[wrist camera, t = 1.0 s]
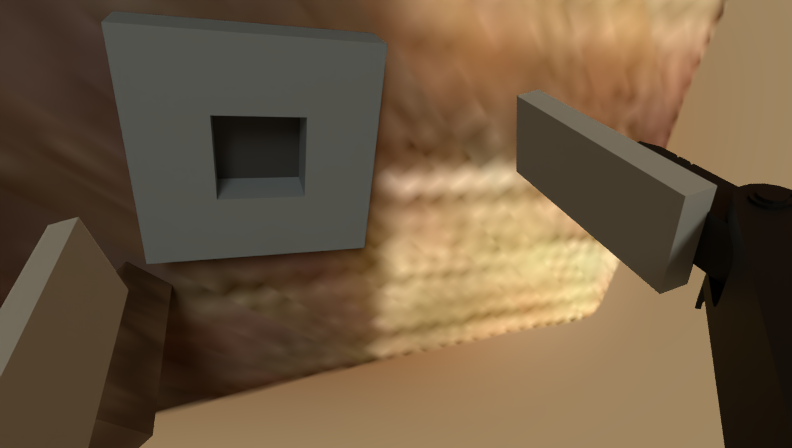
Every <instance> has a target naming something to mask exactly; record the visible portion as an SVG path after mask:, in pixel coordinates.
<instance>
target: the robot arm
mask: <svg viewBox="0 0 792 448" xmlns="http://www.w3.org/2000/svg"><path fill="white" fill-rule="evenodd" d="M517 172H518V173H519V174H520V175H522V176H523V177H524V178H525V179H526V180H527V181H529V182H530V183H531V184H532V185H533V186H534V187H536V188H537V189H538V190H539V191H540V192H541V193H543V194H544V195H545V196H546V197H547V198H548V199H550V200H551V201H552V202H553V203H554V204H555V205H557V206H558V207H559V208H560V209H561V210H562V211H564V212H565V213H566V214H567V215H568V216H569V217H571V218H572V219H573V220H574V221H575V222H576V223H578V224H579V225H580V226H581V227H582V228H583V229H585V230H586V231H587V232H588V233H589V234H590V235H592V236H593V237H594V238H595V239H596V240H597V241H599V242H600V243H601V244H602V245H603V246H604V247H606V248H607V249H608V250H609V251H610V252H611V253H613V254H614V255H615V256H616V257H617V258H618V259H620V260H621V261H622V262H623V263H624V264H625V265H627V266H628V267H629V268H630V269H631V270H632V271H634V272H635V273H636V274H637V275H639V276H640V277H641V278H642V279H643V280H644V281H645V282H647V283H648V284H649V285H650V286H651V287H652V288H654V289H655V290H656V291H657V292H658V293H659V294H661V293H664V292H667V291H669V290H672V289H674V288H677V287H680V286H683V285H685V284H687V283H688V280H689V277H690V273H691V270H692V267H693V264H695V265H696V266H697V267H699V268H700V269H701V270H703V271H704V272H706V275H705V278H704V281H703V284H702V287H701V290H700V293H699V296H698V299H697V302H696V306H695V308H696V309H701V306H702V303H703V302H704V301H705V306H706V313H707V321H708V328H709V335H710V343H711V350H712V357H713V364H714V372H715V379H716V386H717V394H718V401H719V408H720V416H721V423H722V429H723V437H724V445H725V448H792V190H790V189H787V188H784V187H781V186H777V185H769V184H748V185H744V186H740V187H737V186H735V185H734V184H732V183H730V182H728V181H726V180H724V179H722V178H720V177H718V176H716V175H714V174H712V173H711V172H709V171H707V170H705V169H703V168H701V167H699V166H697V165H695V164H692V165H691V163H690V162H689V161H687V160H685V159H683V158H681V157H677V155H676V154H674V153H672V152H670V151H668V150H666V149H664V148H662V147H660V146H656V145H652V144H648V143H645V142H641V141H639V142H635V141H633V140H631V139H630V138H628V137H626V136H624V135H622V134H620V133H618V132H616V131H615V130H613V129H611V128H609V127H607V126H605V125H603V124H602V123H600V122H598V121H596V120H594V119H592V118H590V117H589V116H587V115H585V114H583V113H581V112H579V111H577V110H576V109H574V108H572V107H570V106H568V105H566V104H564V103H563V102H561V101H559V100H557V99H555V98H553V97H551V96H550V95H548V94H546V93H544V92H542V91H540V90H535V91H532V92H528V93H525V94H521V95H517ZM127 294H128V288H127V287H126V286H125V284H124V283H123V281H122V280H121V278H120V277H119V275H118V274H117V272H116V271H115V270H114V268H113V267H112V265H111V264H110V262H109V261H108V259H107V258H106V256H105V255H104V253H103V252H102V251H101V249H100V248H99V246H98V245H97V243H96V242H95V240H94V239H93V237H92V236H91V235H90V233H89V232H88V230H87V229H86V227H85V226H84V224H83V223H82V221H81V220H80V218H79V217H76V218H73V219H69V220H66V221H62V222H58V223H55V224H51V225H48V227H47V228H46V230H45V232H44V234H43V235H42V237H41V239H40V240H39V242H38V244H37V246H36V247H35V249H34V251H33V253H32V254H31V256H30V258H29V260H28V261H27V263H26V265H25V267H24V268H23V270H22V272H21V274H20V275H19V277H18V279H17V281H16V282H15V284H14V286H13V288H12V289H11V291H10V293H9V295H8V296H7V298H6V300H5V302H4V303H3V305H2V307H1V309H0V448H88V447H89V443H90V439H91V435H92V431H93V427H94V423H95V419H96V415H97V412H98V408H99V404H100V400H101V396H102V392H103V388H104V384H105V380H106V376H107V372H108V368H109V365H110V361H111V357H112V353H113V349H114V345H115V341H116V337H117V333H118V329H119V325H120V321H121V318H122V314H123V310H124V306H125V302H126V298H127Z"/></svg>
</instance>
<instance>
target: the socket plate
mask: <svg viewBox="0 0 792 448" xmlns="http://www.w3.org/2000/svg"><path fill="white" fill-rule="evenodd" d="M101 24H102V29H103V34H104V40H105V45H106V50H107V56H108V61H109V66H110V72H111V77H112V82H113V88H114V93H115V98H116V104H117V109H118V114H119V120H120V125H121V130H122V136H123V141H124V146H125V152H126V157H127V162H128V168H129V173H130V178H131V183H132V189H133V194H134V199H135V205H136V210H137V215H138V221H139V226H140V231H141V237H142V242H143V247H144V253H145V258H146V263H147V264H153V263H166V262H179V261H193V260H206V259H220V258H233V257H247V256H260V255H274V254H287V253H301V252H314V251H328V250H341V249H354V248H364V246H365V237H366V228H367V220H368V211H369V202H370V193H371V185H372V176H373V167H374V158H375V149H376V141H377V132H378V123H379V114H380V106H381V97H382V88H383V79H384V70H385V62H386V53H387V43H385V42H384V41H383V40H381V39H380V38H379V37H377V36H376V35H375V34H373V33H365V32H353V31H341V30H329V29H317V28H305V27H293V26H281V25H270V24H258V23H246V22H234V21H222V20H210V19H198V18H186V17H175V16H163V15H151V14H139V13H127V12H115V11H113V12H112V13H111V14H110V15H109V16H107V17H106V18H105V19H104V20H103V21H102V22H101Z"/></svg>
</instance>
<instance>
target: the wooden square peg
mask: <svg viewBox="0 0 792 448" xmlns="http://www.w3.org/2000/svg"><path fill="white" fill-rule="evenodd" d="M116 272H117V274H118V275H119V277H120V278H121V280H122V281H123V283H124V284H125V286H126V287H127V288H128V294H127V298H126V302H125V306H124V310H123V314H122V318H121V321H120V325H119V329H118V333H117V337H116V341H115V345H114V349H113V353H112V357H111V361H110V365H109V368H108V372H107V376H106V380H105V384H104V388H103V392H102V396H101V400H100V404H99V408H98V412H97V415H96V419H95V423H94V427H93V431H92V435H91V439H90V443H89V447H88V448H139V447H140V446H141V445H142V444H144V443H145V442H146V441H147V440H148V439H149V438H150V437H151V436H152V435H153V428H154V420H155V413H156V405H157V397H158V389H159V382H160V374H161V366H162V358H163V351H164V343H165V335H166V327H167V320H168V312H169V304H170V296H171V289H172V285H171V284H169V283H167V282H165V281H163V280H161V279H159V278H157V277H155V276H153V275H151V274H149V273H148V272H146V271H144V270H142V269H140V268H138V267H136V266H134V265H132V264H130V263H128V262H125V263H124V264H123V265H122V266H121V267H120V268H119V269H118V270H117V271H116Z"/></svg>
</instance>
